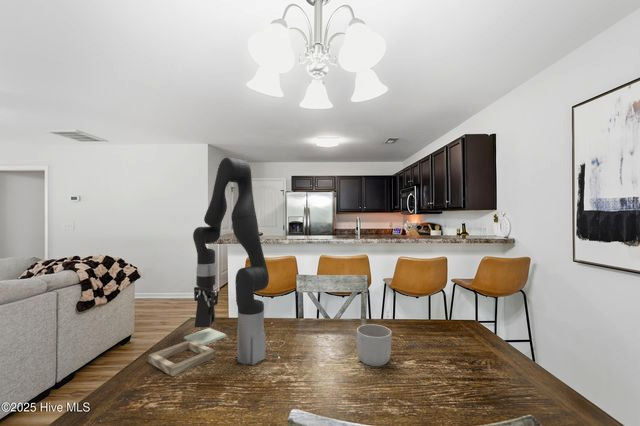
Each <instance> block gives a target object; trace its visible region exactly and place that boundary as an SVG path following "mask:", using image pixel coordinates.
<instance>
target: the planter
mask: <svg viewBox="0 0 640 426" xmlns="http://www.w3.org/2000/svg"><path fill="white" fill-rule="evenodd" d="M392 334H393V332H392V330H391V329H390V328H388V327H386V326H384V325H381V324H373V323H372V324H371V323H369V324H362V325H359V326H358V327H357V328H356V348H357V356H358V358H359V360H360V361H361V362H362V363H364V364H365V365H367V366H370V367H381V366H384V365H386V364H388V362H389V361H390V359H391V352H392Z"/></svg>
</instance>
